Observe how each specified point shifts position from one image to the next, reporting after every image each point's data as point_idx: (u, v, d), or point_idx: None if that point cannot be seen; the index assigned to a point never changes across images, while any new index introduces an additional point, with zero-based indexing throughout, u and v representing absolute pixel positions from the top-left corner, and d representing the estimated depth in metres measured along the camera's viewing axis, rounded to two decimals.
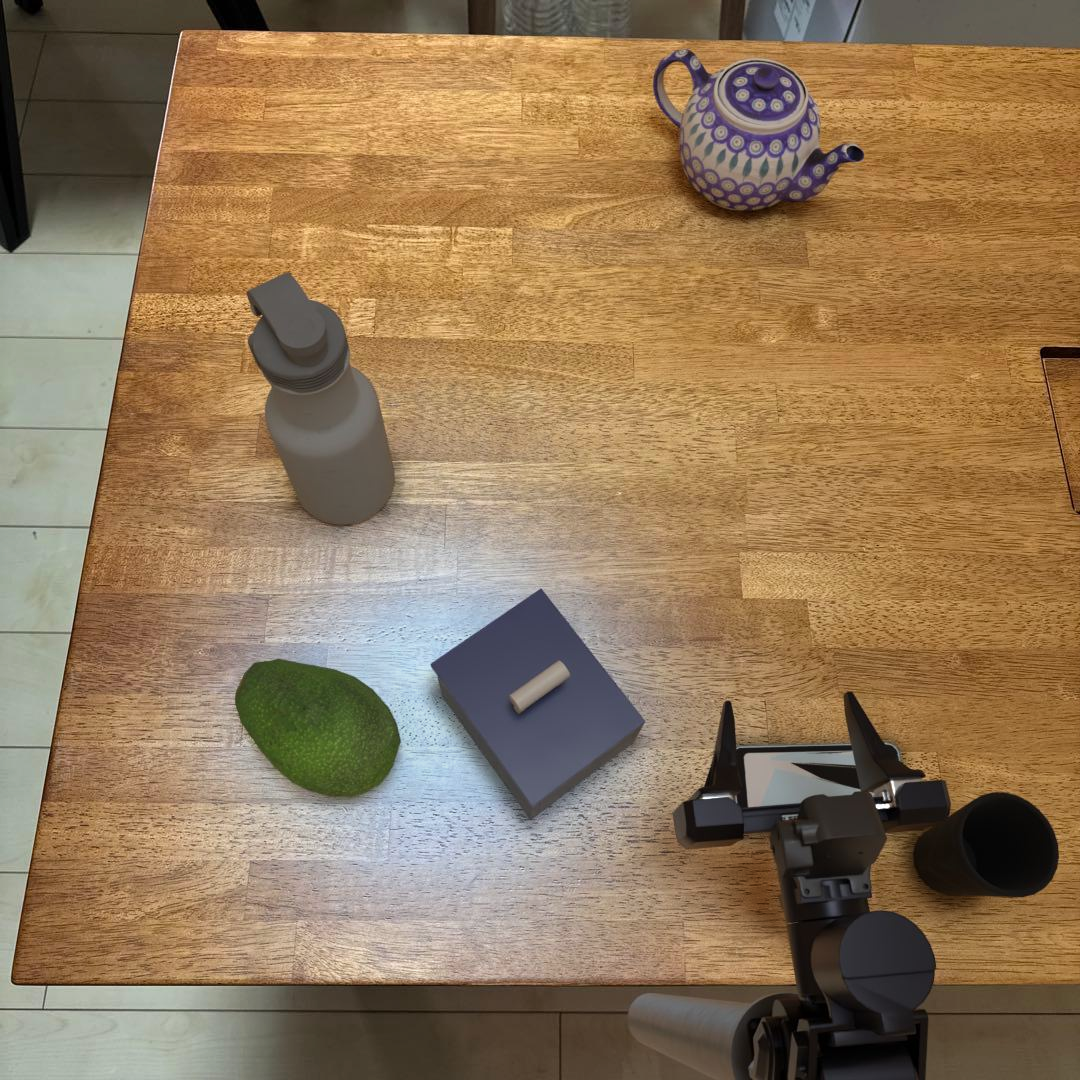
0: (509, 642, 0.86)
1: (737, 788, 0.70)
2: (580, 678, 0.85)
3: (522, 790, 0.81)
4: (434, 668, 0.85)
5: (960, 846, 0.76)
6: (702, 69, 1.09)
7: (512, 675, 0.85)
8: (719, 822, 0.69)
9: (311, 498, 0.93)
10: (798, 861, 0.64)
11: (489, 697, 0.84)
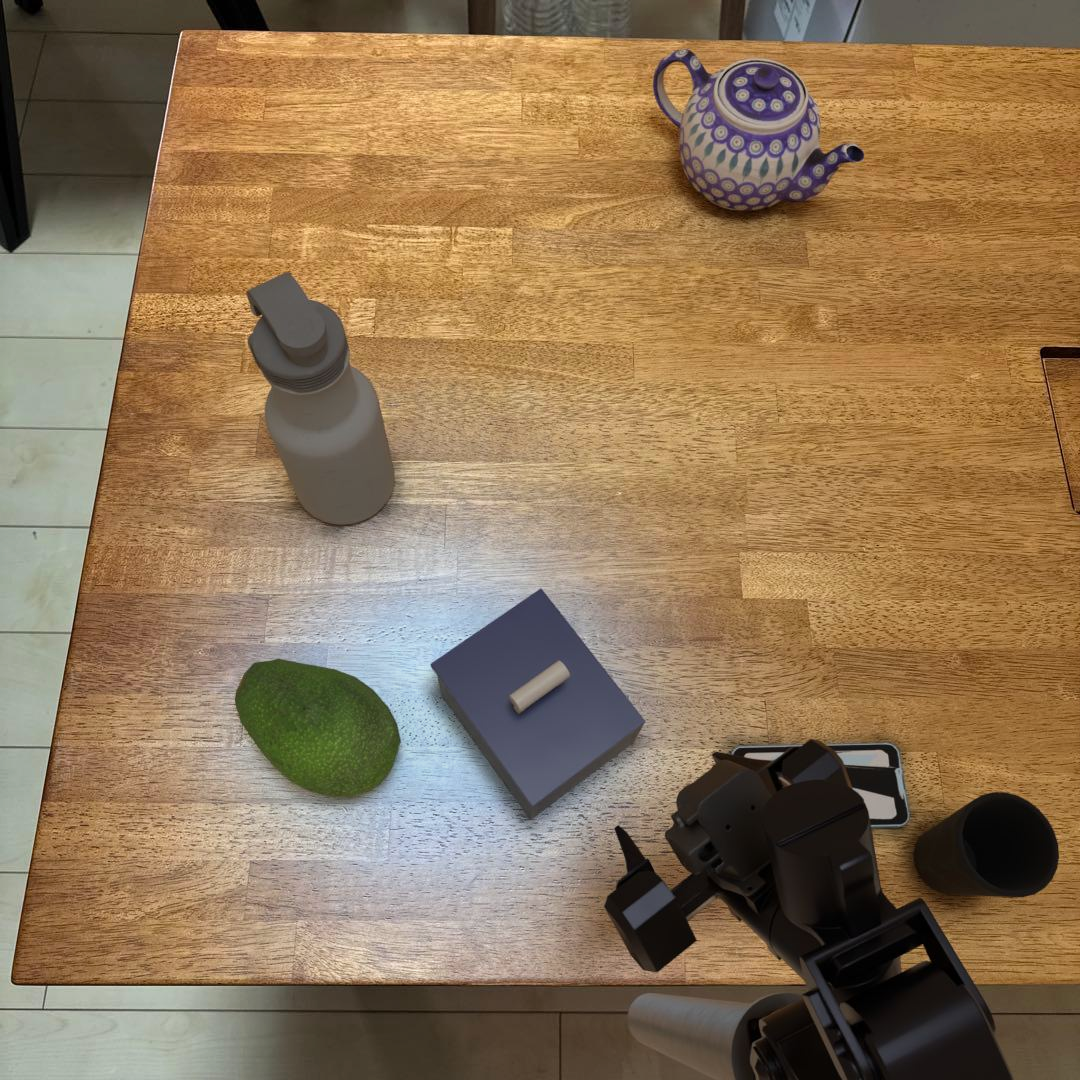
0: (509, 642, 0.86)
1: (643, 861, 0.67)
2: (580, 678, 0.85)
3: (522, 790, 0.81)
4: (434, 668, 0.85)
5: (960, 846, 0.76)
6: (702, 69, 1.09)
7: (512, 675, 0.85)
8: (640, 894, 0.65)
9: (311, 498, 0.93)
10: (695, 842, 0.61)
11: (489, 697, 0.84)
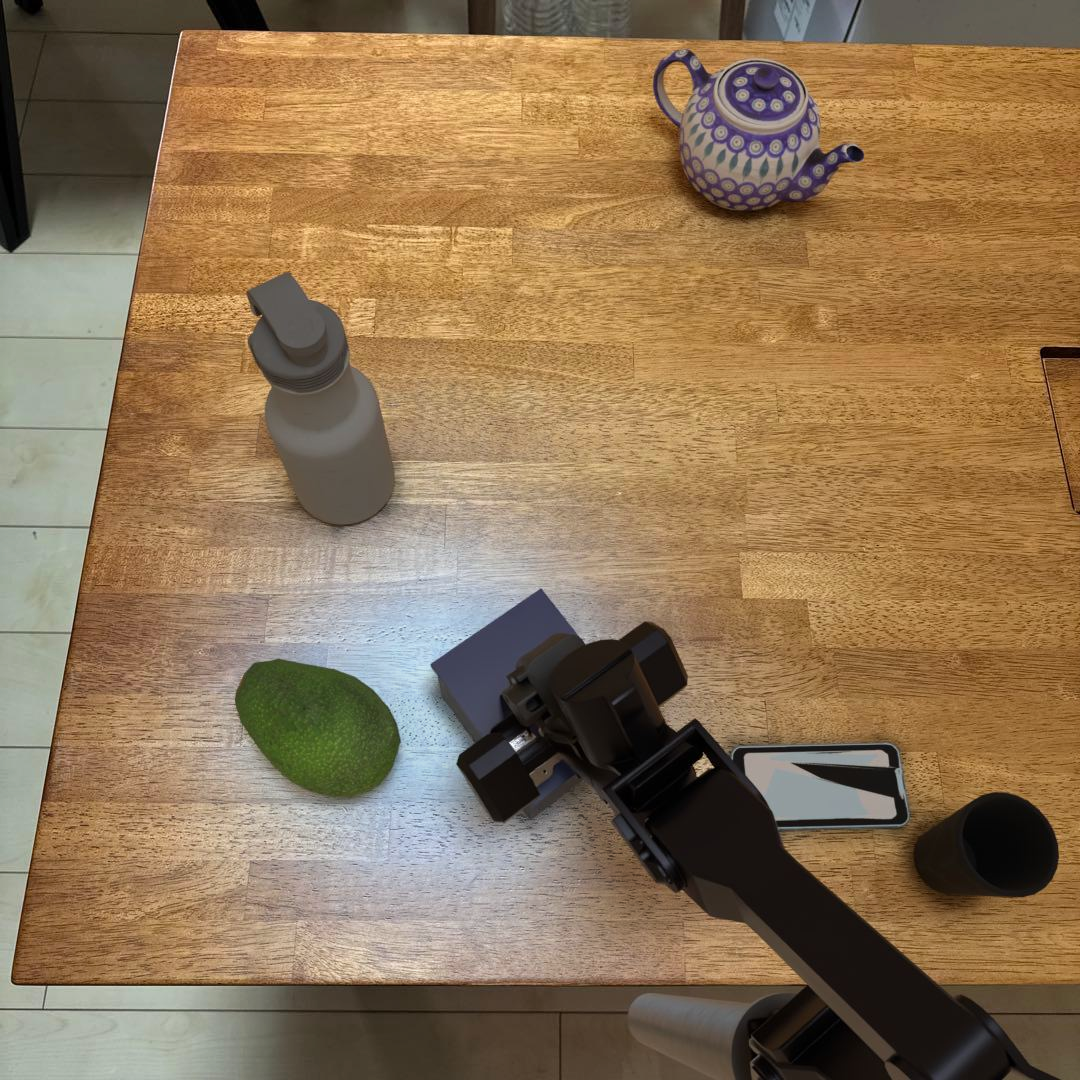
0: (509, 642, 0.86)
1: None
2: None
3: None
4: (434, 668, 0.85)
5: (960, 846, 0.76)
6: (702, 69, 1.09)
7: None
8: (486, 751, 0.74)
9: (311, 498, 0.93)
10: (523, 695, 0.70)
11: (489, 697, 0.84)
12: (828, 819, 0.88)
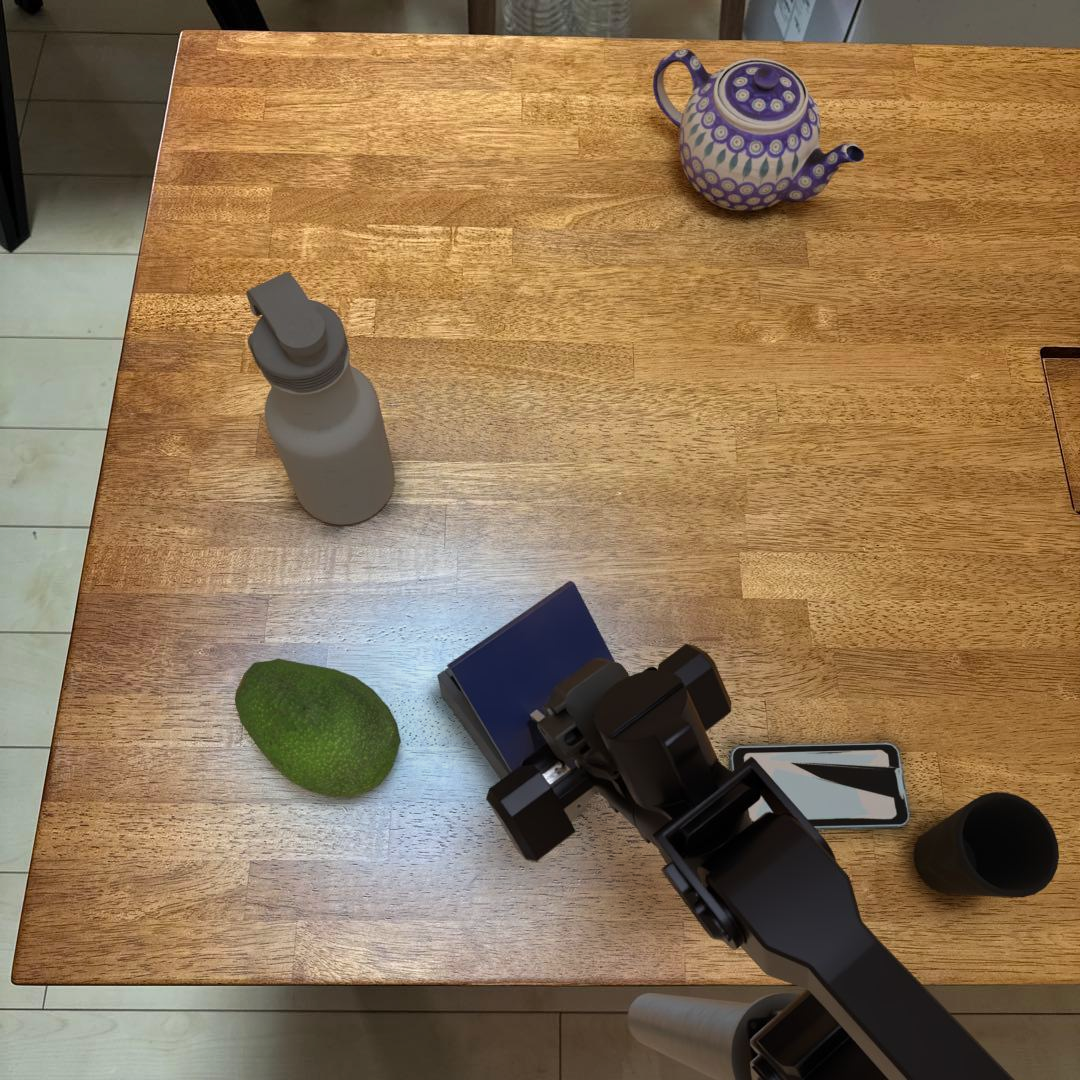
0: (534, 644, 0.78)
1: (546, 741, 0.71)
2: None
3: None
4: (454, 673, 0.76)
5: (960, 846, 0.76)
6: (702, 69, 1.09)
7: (532, 680, 0.79)
8: (518, 785, 0.69)
9: (311, 498, 0.93)
10: (561, 728, 0.65)
11: (507, 703, 0.78)
12: (828, 819, 0.88)
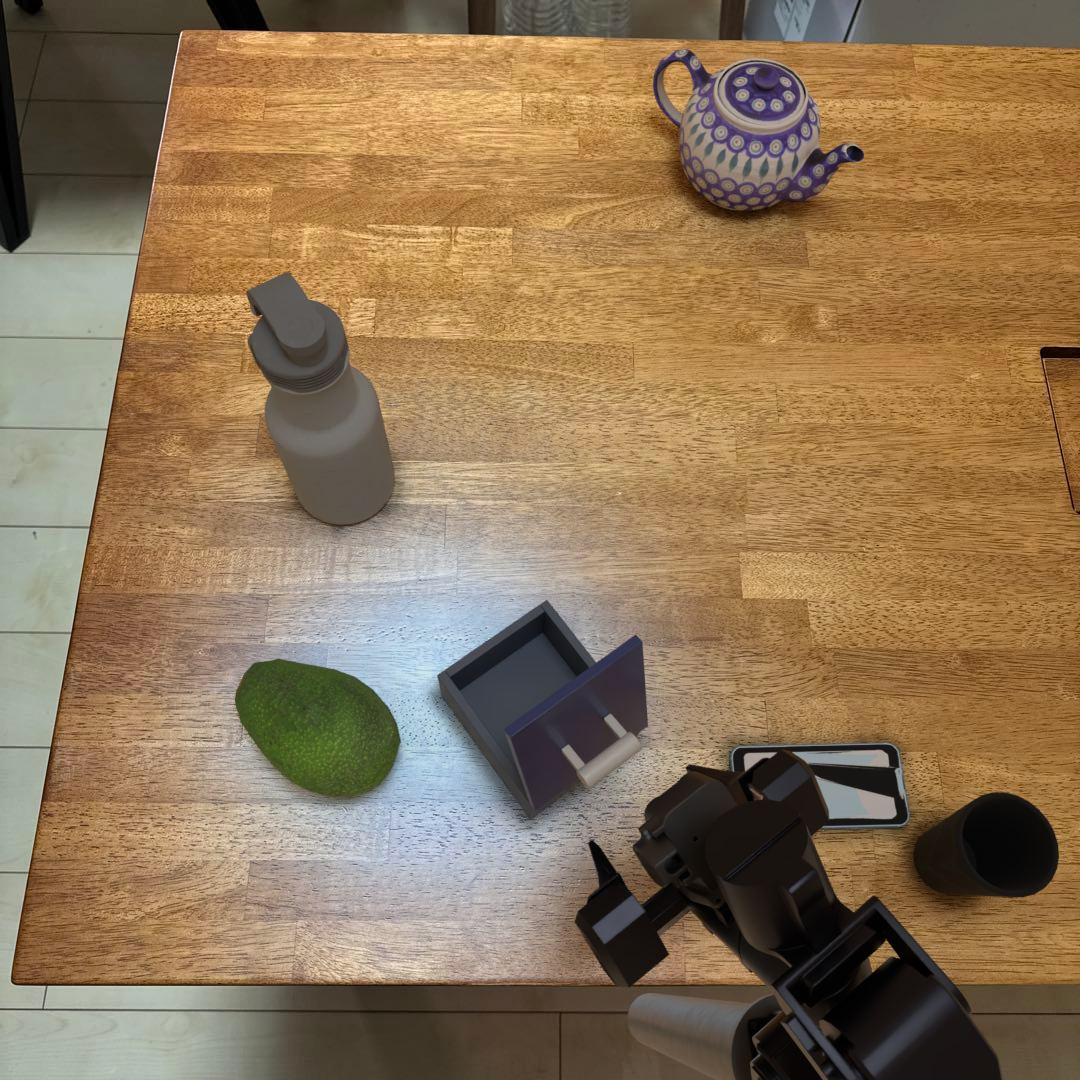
0: (588, 697, 0.73)
1: (614, 875, 0.67)
2: (624, 710, 0.78)
3: (533, 803, 0.80)
4: (512, 740, 0.70)
5: (960, 846, 0.76)
6: (702, 69, 1.09)
7: (574, 724, 0.74)
8: (610, 909, 0.64)
9: (311, 498, 0.93)
10: (661, 854, 0.61)
11: (546, 747, 0.74)
12: None
